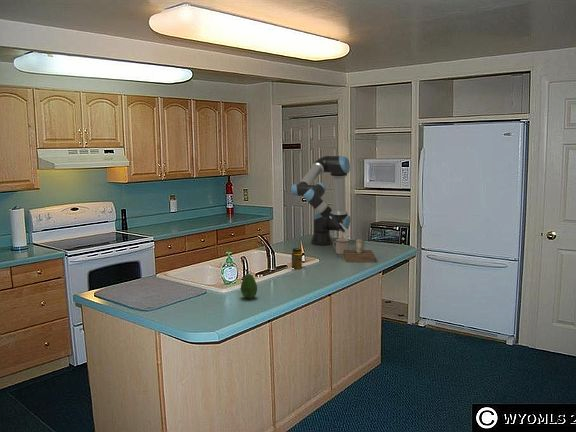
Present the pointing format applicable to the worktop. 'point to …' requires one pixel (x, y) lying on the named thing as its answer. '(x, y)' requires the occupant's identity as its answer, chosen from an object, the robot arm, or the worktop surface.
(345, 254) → the walnut hole block
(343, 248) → the teacup with lid
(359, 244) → the birch pin
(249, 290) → the avocado
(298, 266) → the condiment
